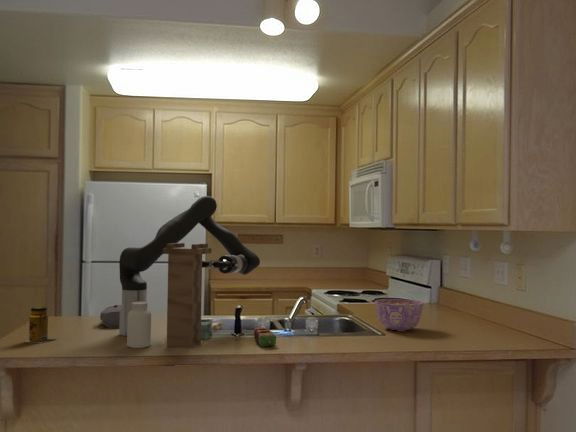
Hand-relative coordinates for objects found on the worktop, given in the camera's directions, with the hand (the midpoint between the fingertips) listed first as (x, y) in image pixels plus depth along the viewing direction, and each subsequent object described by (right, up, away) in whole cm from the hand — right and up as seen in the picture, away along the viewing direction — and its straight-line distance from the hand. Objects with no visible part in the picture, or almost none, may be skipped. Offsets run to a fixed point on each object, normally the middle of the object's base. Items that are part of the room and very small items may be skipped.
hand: (209, 264), depth 213 cm
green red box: (+22, -27, -17) cm, 39 cm away
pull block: (-1, -27, +2) cm, 27 cm away
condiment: (-58, -26, -17) cm, 66 cm away
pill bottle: (-21, -26, -24) cm, 41 cm away
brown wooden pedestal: (-6, -26, -19) cm, 33 cm away
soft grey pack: (-41, -27, +19) cm, 53 cm away
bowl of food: (+77, -28, +14) cm, 83 cm away
